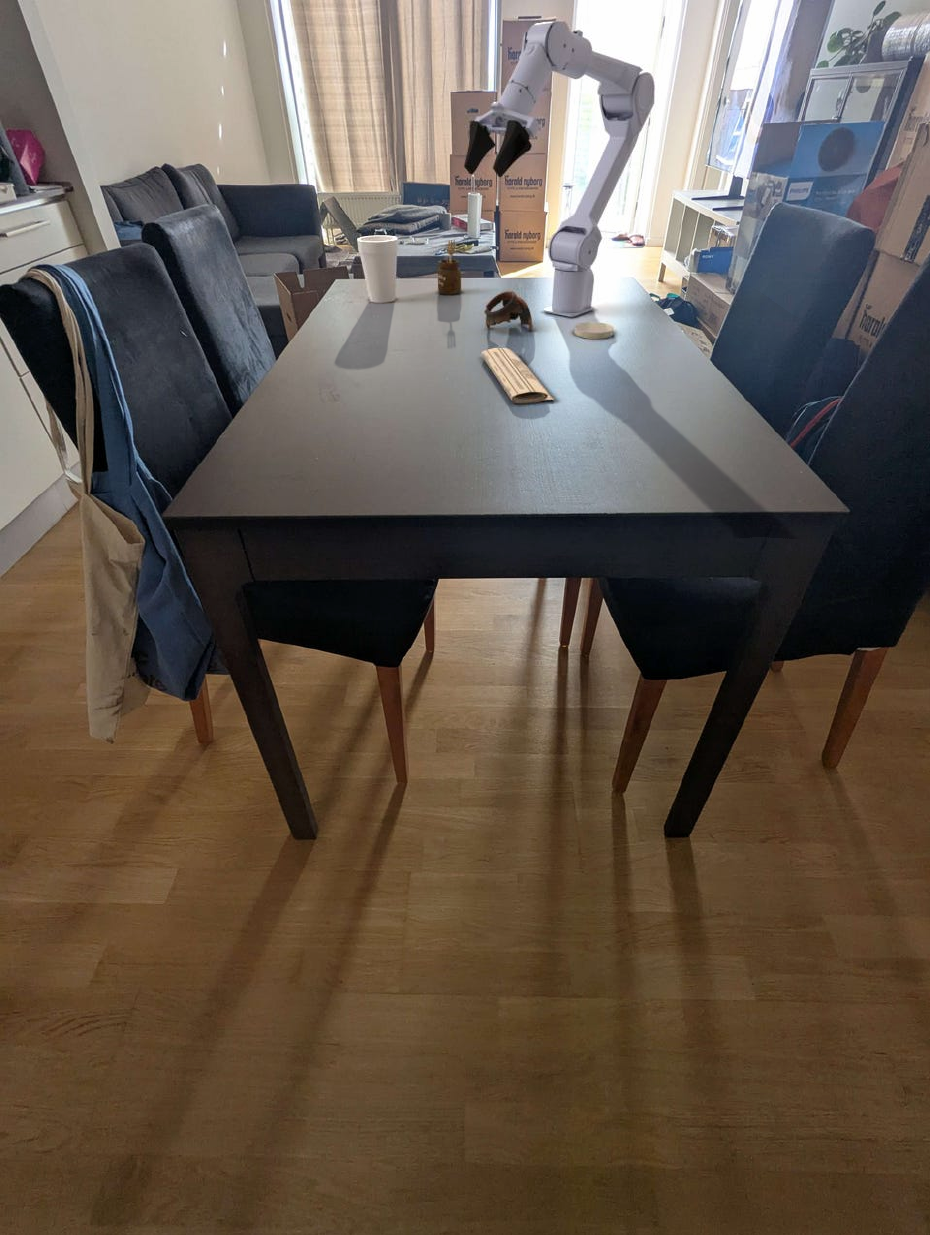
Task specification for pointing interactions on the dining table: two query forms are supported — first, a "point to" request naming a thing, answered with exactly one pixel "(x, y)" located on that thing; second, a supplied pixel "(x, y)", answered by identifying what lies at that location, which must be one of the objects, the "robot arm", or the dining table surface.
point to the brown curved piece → (508, 310)
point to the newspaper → (515, 376)
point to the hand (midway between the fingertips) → (482, 171)
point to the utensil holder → (449, 274)
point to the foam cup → (379, 266)
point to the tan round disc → (593, 330)
